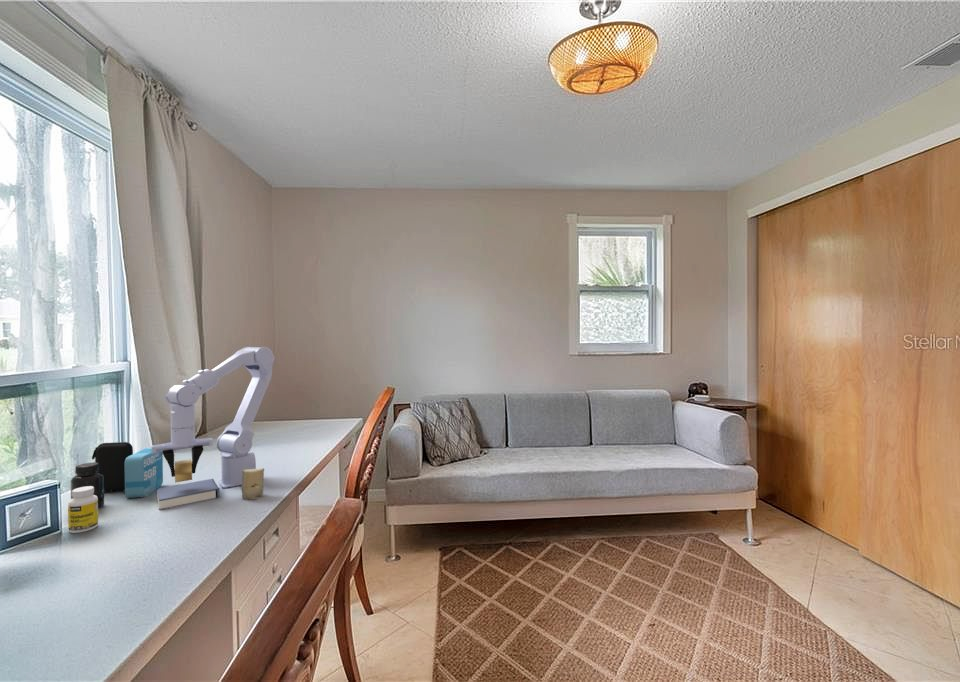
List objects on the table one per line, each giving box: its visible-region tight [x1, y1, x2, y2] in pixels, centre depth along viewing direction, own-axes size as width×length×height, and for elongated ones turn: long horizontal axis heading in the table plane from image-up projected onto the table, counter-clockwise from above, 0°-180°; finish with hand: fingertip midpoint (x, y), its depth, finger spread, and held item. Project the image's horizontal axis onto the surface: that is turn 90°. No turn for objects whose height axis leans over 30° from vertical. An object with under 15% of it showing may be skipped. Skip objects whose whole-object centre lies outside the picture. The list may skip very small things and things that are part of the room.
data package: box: [124, 448, 164, 499], centre depth 132 cm, size 12×4×12 cm, turn 12°
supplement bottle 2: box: [67, 486, 99, 534], centre depth 107 cm, size 5×5×10 cm
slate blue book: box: [156, 478, 220, 511], centre depth 127 cm, size 14×11×3 cm
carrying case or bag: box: [91, 441, 134, 493], centre depth 133 cm, size 11×3×15 cm, turn 100°
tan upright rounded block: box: [241, 467, 265, 500], centre depth 128 cm, size 6×5×8 cm
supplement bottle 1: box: [70, 461, 105, 510], centre depth 120 cm, size 7×7×12 cm
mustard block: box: [174, 458, 193, 483], centre depth 126 cm, size 4×4×5 cm
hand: (183, 474), depth 127 cm, fingers closed on mustard block, 4 cm apart
